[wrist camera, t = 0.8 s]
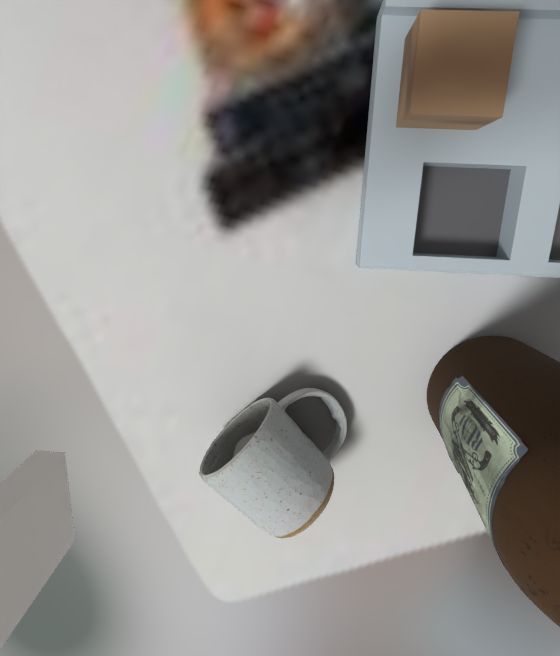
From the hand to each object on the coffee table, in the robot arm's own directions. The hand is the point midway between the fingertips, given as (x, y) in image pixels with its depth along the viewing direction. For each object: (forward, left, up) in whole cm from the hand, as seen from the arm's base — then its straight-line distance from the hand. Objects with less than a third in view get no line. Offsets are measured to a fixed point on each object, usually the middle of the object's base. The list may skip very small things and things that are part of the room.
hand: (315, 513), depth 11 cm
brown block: (-15, +7, -21) cm, 27 cm away
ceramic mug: (+10, -2, -24) cm, 26 cm away
